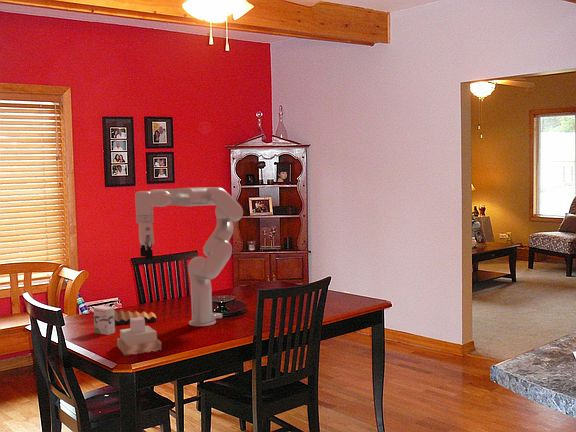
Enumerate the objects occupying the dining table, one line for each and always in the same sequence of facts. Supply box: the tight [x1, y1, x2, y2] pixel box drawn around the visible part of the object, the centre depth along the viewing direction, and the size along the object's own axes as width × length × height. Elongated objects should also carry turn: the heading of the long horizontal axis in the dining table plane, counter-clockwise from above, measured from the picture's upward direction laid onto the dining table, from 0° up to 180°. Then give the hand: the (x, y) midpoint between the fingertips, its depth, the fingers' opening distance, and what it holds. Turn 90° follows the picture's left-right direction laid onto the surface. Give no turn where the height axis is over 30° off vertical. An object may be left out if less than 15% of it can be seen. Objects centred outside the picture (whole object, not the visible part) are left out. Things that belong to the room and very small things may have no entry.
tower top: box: [119, 325, 158, 346], centre depth 285 cm, size 12×12×4 cm
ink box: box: [93, 305, 116, 336], centre depth 313 cm, size 9×5×12 cm, turn 60°
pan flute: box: [114, 309, 157, 326], centre depth 340 cm, size 25×3×25 cm
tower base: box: [116, 337, 162, 356], centre depth 286 cm, size 15×15×4 cm
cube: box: [129, 317, 146, 333], centre depth 285 cm, size 5×5×5 cm
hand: (146, 257), depth 306 cm, fingers open, 9 cm apart
